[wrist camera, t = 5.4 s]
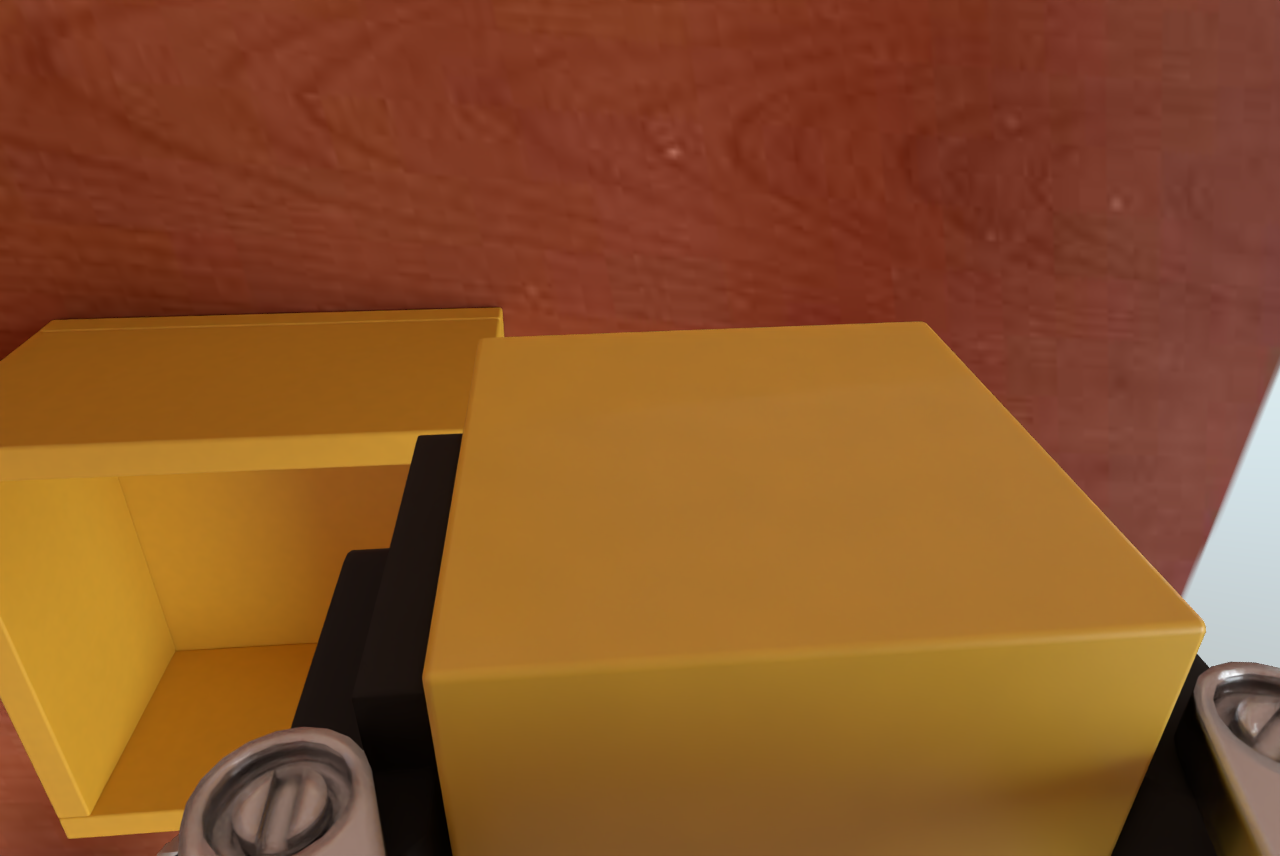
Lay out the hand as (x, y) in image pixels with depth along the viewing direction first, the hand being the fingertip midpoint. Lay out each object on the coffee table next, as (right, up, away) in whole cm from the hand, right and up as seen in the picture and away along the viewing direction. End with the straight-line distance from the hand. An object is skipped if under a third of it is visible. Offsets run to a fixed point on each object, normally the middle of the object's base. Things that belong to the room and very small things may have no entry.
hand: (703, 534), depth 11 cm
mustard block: (0, 0, 0) cm, 0 cm away
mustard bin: (-10, -1, +16) cm, 19 cm away
